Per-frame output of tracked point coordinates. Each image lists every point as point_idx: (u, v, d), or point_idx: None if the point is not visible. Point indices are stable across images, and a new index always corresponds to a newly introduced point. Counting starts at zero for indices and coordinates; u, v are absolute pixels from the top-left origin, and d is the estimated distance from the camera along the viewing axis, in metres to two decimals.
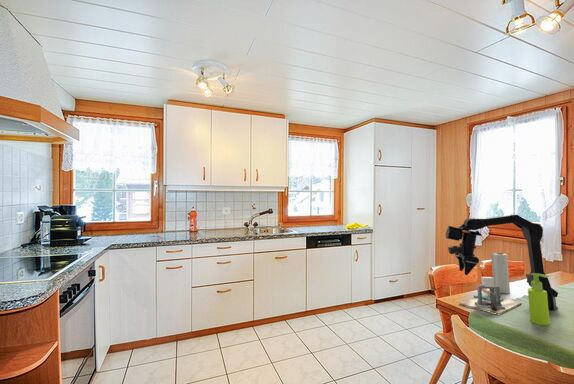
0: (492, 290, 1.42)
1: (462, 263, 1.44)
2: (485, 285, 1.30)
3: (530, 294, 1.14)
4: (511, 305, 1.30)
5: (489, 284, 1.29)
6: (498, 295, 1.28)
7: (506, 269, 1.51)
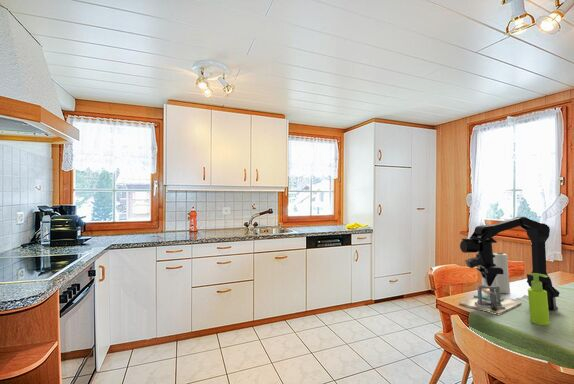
0: (492, 290, 1.42)
1: (486, 275, 1.32)
2: (485, 285, 1.30)
3: (530, 294, 1.14)
4: (511, 305, 1.30)
5: None
6: (498, 295, 1.28)
7: (506, 269, 1.51)
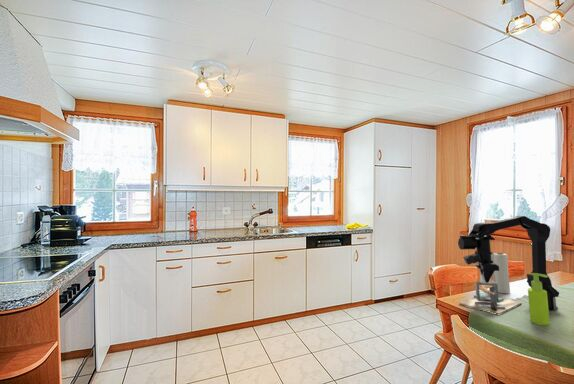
0: (492, 290, 1.42)
1: None
2: (483, 281, 1.32)
3: (530, 294, 1.14)
4: (511, 305, 1.30)
5: None
6: (496, 292, 1.30)
7: (506, 269, 1.51)
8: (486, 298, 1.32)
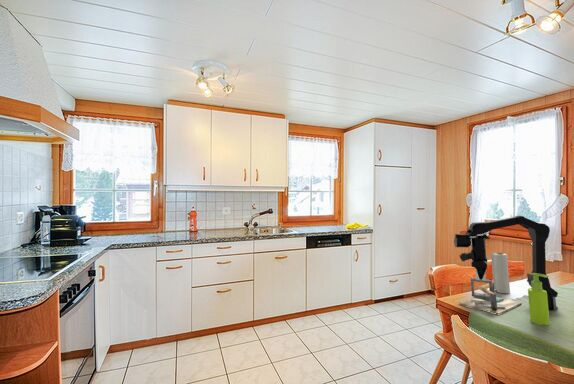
0: (492, 290, 1.42)
1: None
2: (477, 278, 1.38)
3: (530, 294, 1.14)
4: (511, 305, 1.30)
5: None
6: (490, 289, 1.35)
7: (506, 269, 1.51)
8: (481, 294, 1.37)
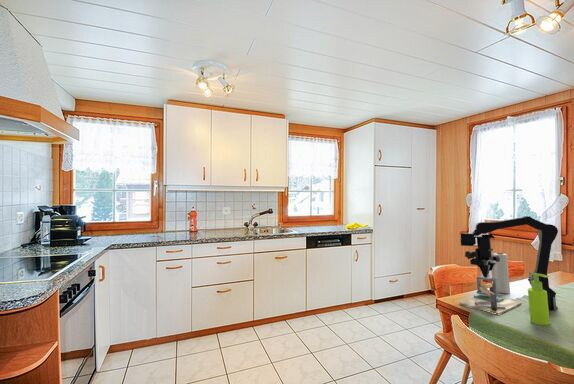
0: (492, 290, 1.42)
1: None
2: (481, 276, 1.42)
3: (530, 294, 1.14)
4: (511, 305, 1.30)
5: None
6: (494, 287, 1.37)
7: (506, 269, 1.51)
8: None
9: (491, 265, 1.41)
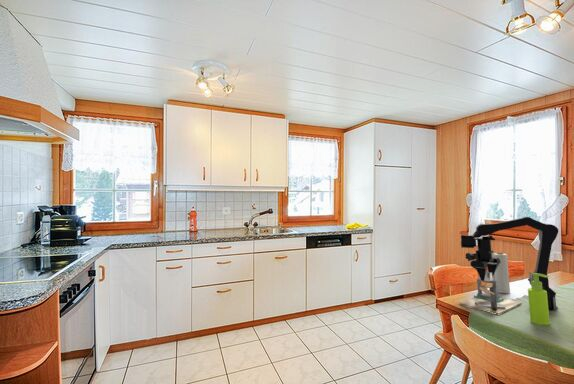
0: (492, 290, 1.42)
1: (491, 269, 1.43)
2: None
3: (530, 294, 1.14)
4: (511, 305, 1.30)
5: (486, 278, 1.40)
6: (494, 289, 1.37)
7: (506, 269, 1.51)
8: (486, 294, 1.41)
9: (494, 266, 1.42)
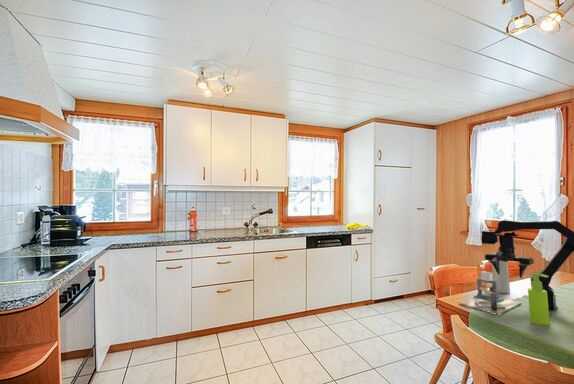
0: (492, 290, 1.42)
1: (498, 266, 1.42)
2: (482, 278, 1.42)
3: (530, 294, 1.14)
4: (511, 305, 1.30)
5: (486, 278, 1.40)
6: (494, 289, 1.37)
7: (506, 269, 1.51)
8: (486, 294, 1.41)
9: (498, 262, 1.44)
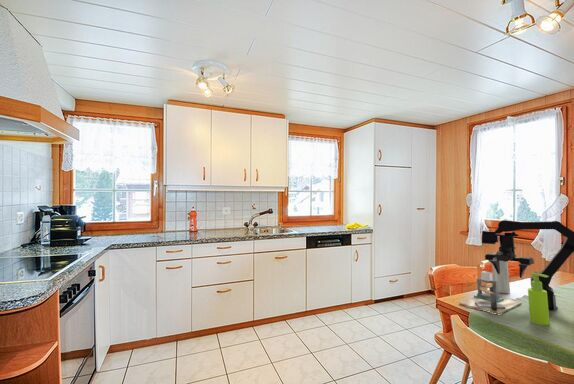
0: (492, 290, 1.42)
1: (498, 266, 1.42)
2: (482, 278, 1.42)
3: (530, 294, 1.14)
4: (511, 305, 1.30)
5: (486, 278, 1.40)
6: (494, 289, 1.37)
7: (506, 269, 1.51)
8: (486, 294, 1.41)
9: (498, 262, 1.44)
